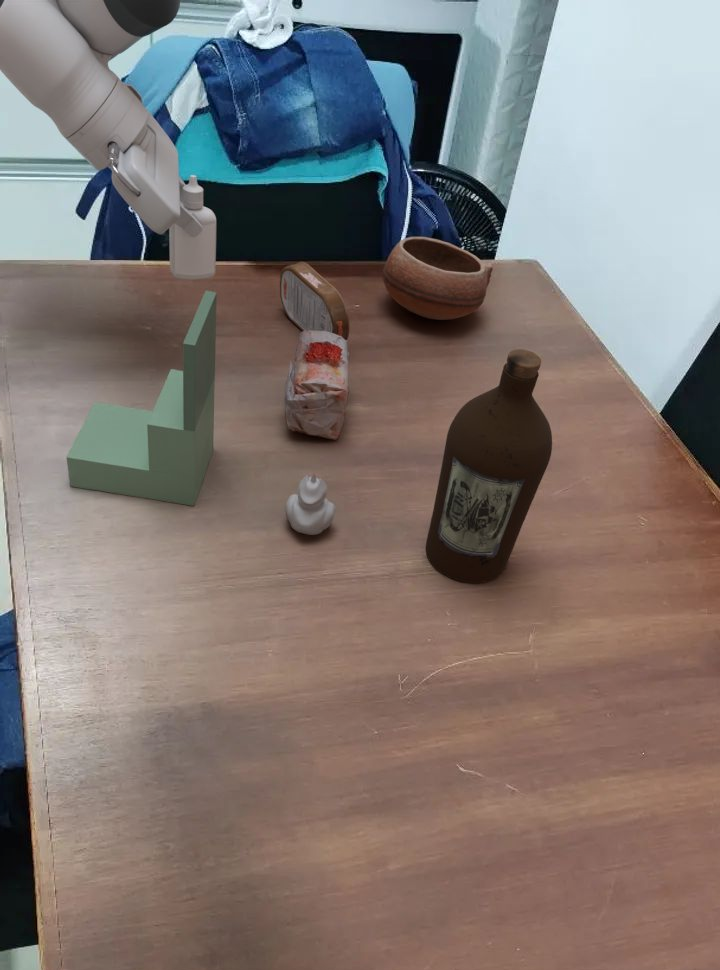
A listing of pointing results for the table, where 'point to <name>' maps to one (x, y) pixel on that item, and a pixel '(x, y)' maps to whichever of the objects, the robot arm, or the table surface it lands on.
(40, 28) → the robot arm
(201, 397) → the step shelf
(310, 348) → the food item
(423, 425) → the table surface
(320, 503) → the rubber duck
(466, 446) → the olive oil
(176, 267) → the eye dropper bottle
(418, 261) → the bowl
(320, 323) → the tin
